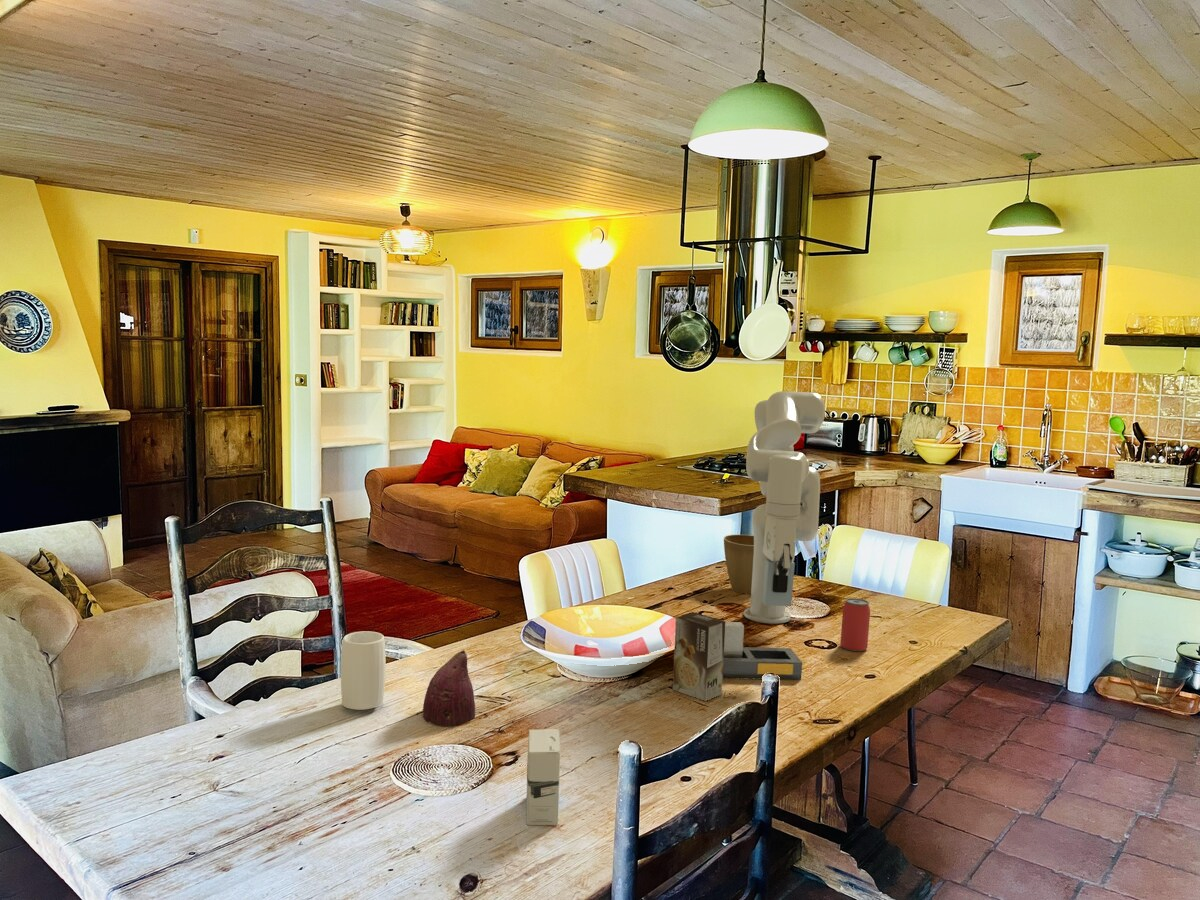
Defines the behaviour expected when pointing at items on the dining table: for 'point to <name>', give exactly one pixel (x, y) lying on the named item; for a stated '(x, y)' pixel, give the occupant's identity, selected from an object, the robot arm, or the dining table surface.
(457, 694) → the vegetable
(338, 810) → the dining table surface
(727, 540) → the plant pot
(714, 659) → the coffee box
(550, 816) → the ink box
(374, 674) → the cup
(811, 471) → the robot arm
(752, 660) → the rack
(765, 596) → the block
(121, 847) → the dining table surface
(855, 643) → the beer can
